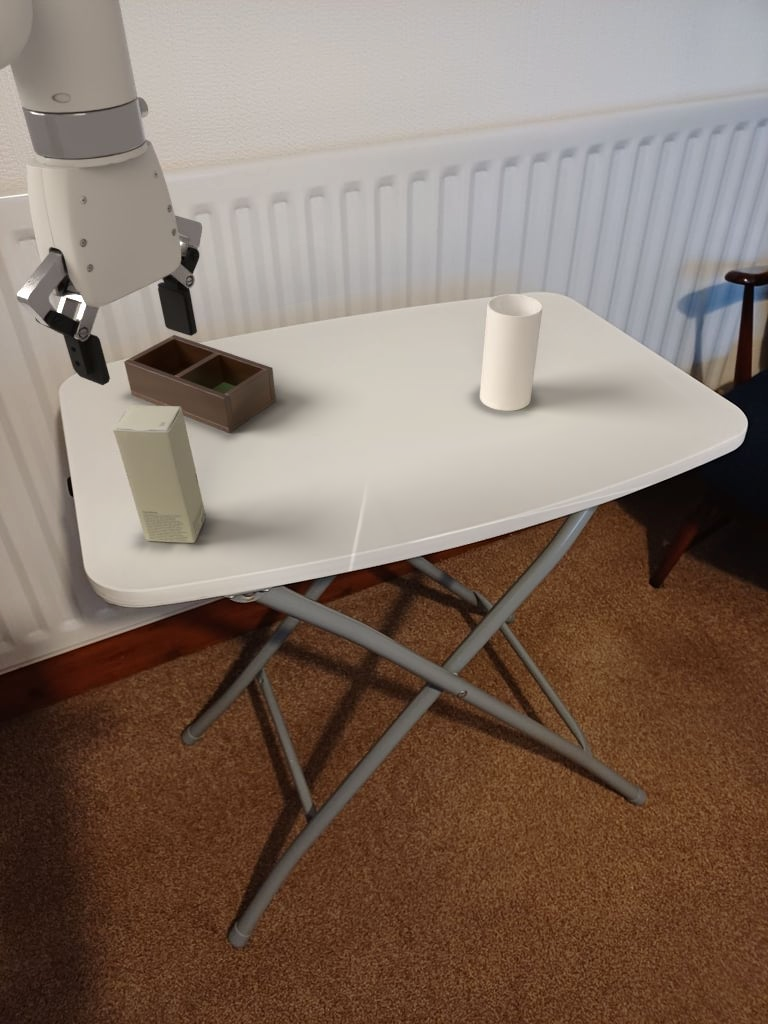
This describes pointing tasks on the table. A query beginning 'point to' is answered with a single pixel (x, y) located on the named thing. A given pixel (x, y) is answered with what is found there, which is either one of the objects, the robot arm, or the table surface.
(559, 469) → the table surface
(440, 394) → the table surface
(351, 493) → the table surface
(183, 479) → the box
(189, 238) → the robot arm
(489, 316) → the cup
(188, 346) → the divided tray
